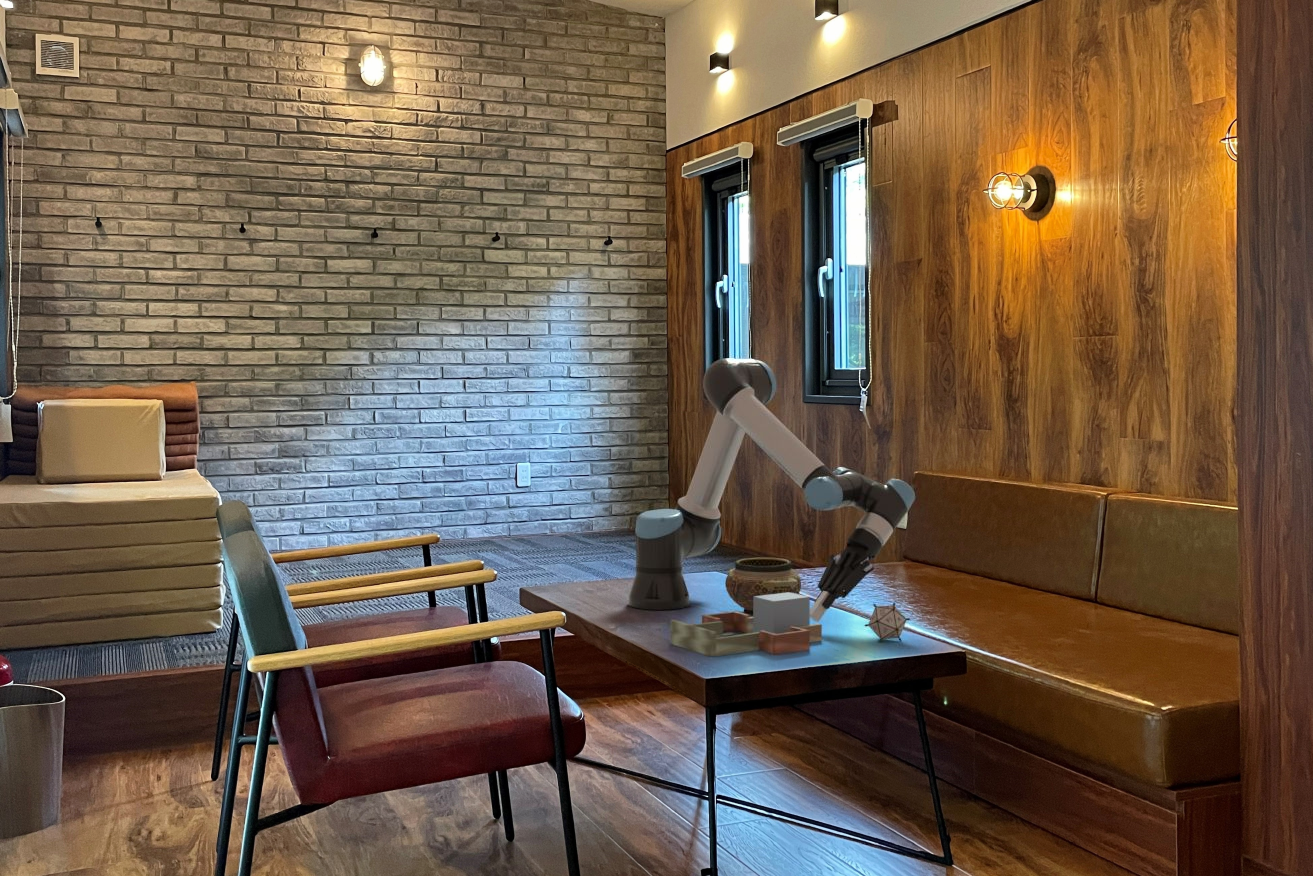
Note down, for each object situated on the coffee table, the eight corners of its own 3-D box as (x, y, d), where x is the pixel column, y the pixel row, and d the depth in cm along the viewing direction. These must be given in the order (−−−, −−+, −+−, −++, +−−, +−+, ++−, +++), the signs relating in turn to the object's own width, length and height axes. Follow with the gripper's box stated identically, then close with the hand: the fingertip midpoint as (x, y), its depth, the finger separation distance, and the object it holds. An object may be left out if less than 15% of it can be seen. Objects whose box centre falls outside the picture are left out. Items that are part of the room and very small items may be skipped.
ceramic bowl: (715, 618, 300) (702, 561, 298) (776, 596, 307) (763, 539, 305) (763, 638, 278) (749, 576, 276) (828, 613, 285) (815, 552, 282)
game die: (894, 659, 261) (909, 627, 255) (857, 643, 262) (871, 611, 256) (902, 632, 268) (917, 600, 262) (866, 617, 269) (880, 585, 263)
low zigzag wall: (656, 639, 263) (656, 616, 263) (762, 624, 279) (762, 603, 279) (728, 662, 241) (728, 637, 241) (838, 645, 257) (838, 621, 257)
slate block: (753, 637, 265) (753, 596, 265) (788, 632, 271) (789, 592, 271) (773, 643, 260) (773, 601, 259) (809, 637, 265) (809, 596, 265)
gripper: (897, 551, 274) (841, 633, 266) (858, 544, 285) (802, 623, 277) (880, 529, 271) (823, 611, 263) (841, 523, 282) (784, 602, 273)
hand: (812, 617), depth 270 cm, fingers closed
